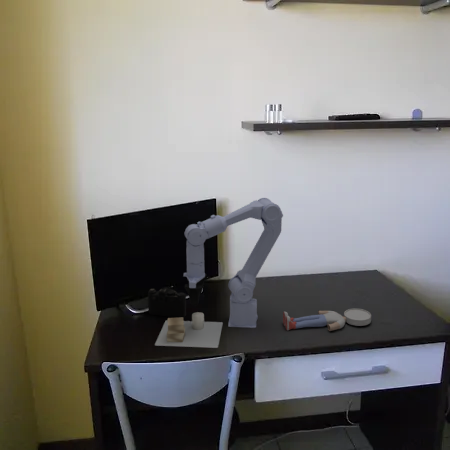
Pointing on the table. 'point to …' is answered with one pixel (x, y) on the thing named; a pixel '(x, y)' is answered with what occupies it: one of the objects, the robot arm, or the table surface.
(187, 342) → the mat
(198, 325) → the cylinder
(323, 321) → the toy
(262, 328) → the table surface
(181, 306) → the camera
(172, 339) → the slab bottom
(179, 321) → the slab top
